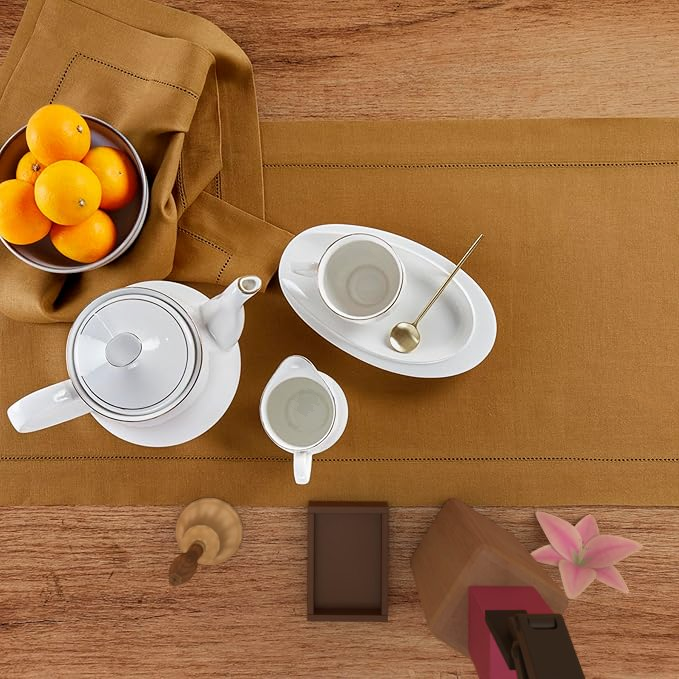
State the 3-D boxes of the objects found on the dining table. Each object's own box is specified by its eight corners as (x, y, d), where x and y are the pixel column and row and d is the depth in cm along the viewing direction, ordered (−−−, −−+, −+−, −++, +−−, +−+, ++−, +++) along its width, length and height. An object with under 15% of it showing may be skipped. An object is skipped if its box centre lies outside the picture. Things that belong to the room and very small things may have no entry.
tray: (386, 612, 80) (388, 622, 77) (308, 611, 80) (306, 621, 77) (387, 501, 80) (388, 507, 77) (308, 500, 80) (307, 506, 77)
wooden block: (518, 536, 80) (576, 602, 60) (474, 605, 80) (517, 694, 60) (449, 492, 80) (484, 543, 60) (405, 561, 80) (425, 635, 60)
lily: (634, 540, 80) (656, 521, 72) (608, 634, 76) (629, 625, 67) (538, 501, 84) (548, 479, 76) (508, 589, 80) (516, 575, 71)
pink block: (533, 651, 60) (566, 706, 51) (468, 651, 60) (489, 705, 51) (533, 586, 60) (567, 629, 51) (468, 585, 60) (489, 628, 51)
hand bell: (242, 565, 80) (217, 620, 64) (175, 564, 80) (133, 619, 64) (243, 497, 80) (218, 536, 64) (176, 496, 80) (134, 534, 64)
